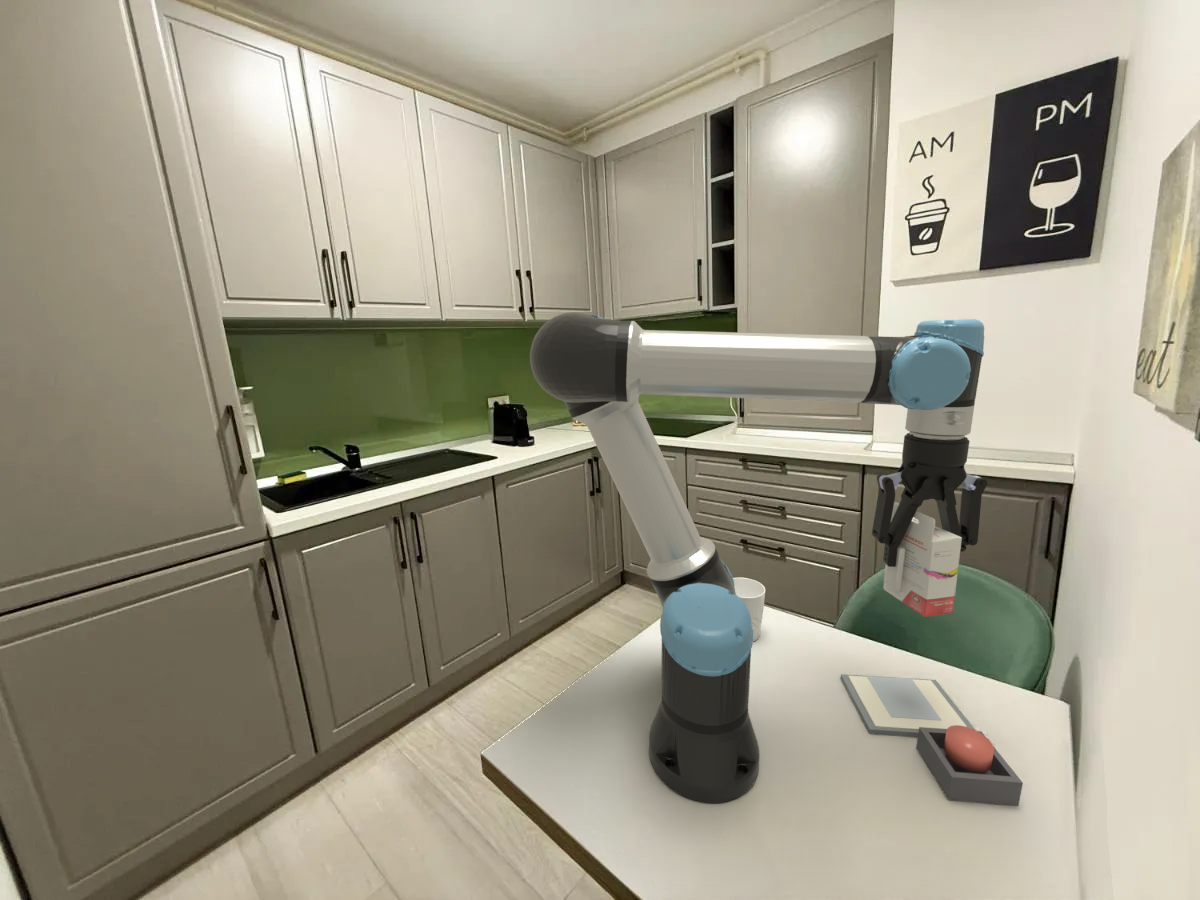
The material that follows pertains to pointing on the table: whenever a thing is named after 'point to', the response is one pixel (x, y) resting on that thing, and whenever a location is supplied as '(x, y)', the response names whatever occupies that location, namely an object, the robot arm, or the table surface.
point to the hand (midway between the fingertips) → (916, 585)
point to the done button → (969, 748)
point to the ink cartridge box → (927, 567)
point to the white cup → (752, 601)
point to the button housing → (968, 773)
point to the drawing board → (902, 704)
